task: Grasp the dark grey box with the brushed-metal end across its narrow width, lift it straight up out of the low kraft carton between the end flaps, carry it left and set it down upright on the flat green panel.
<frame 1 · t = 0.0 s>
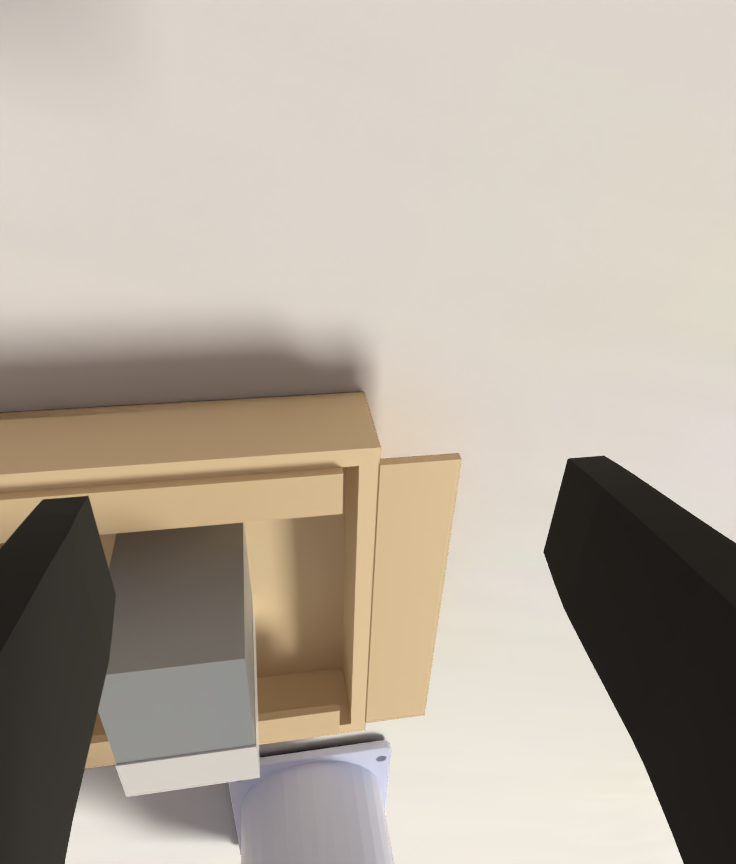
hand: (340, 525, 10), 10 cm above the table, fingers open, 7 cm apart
grey box: (192, 575, 24), resting on carton
carton: (193, 567, 24), on the table
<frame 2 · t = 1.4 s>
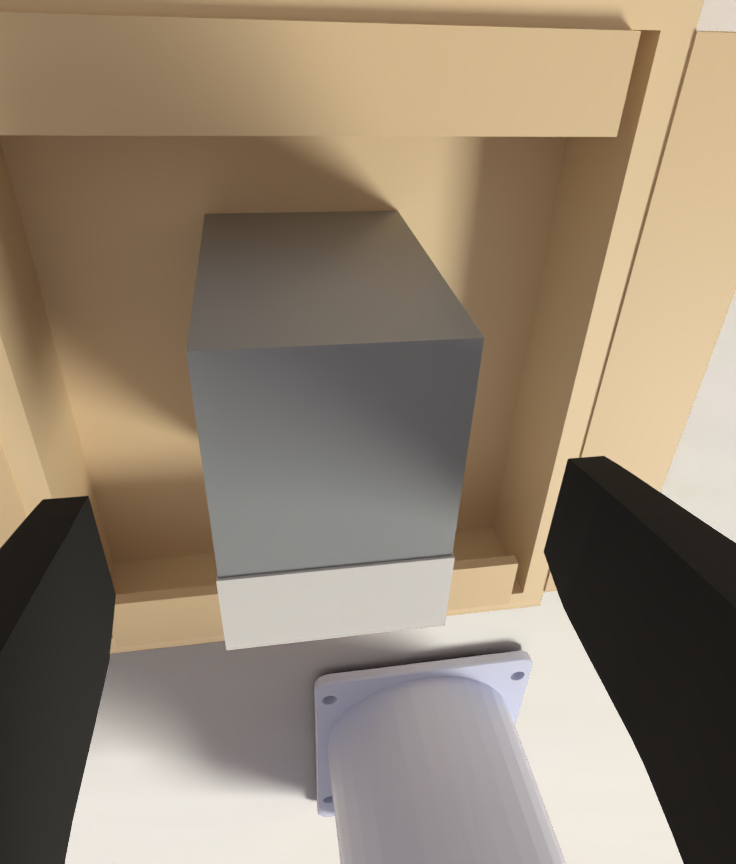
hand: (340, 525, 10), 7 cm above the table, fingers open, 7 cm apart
grey box: (306, 342, 15), resting on carton
carton: (305, 334, 16), on the table
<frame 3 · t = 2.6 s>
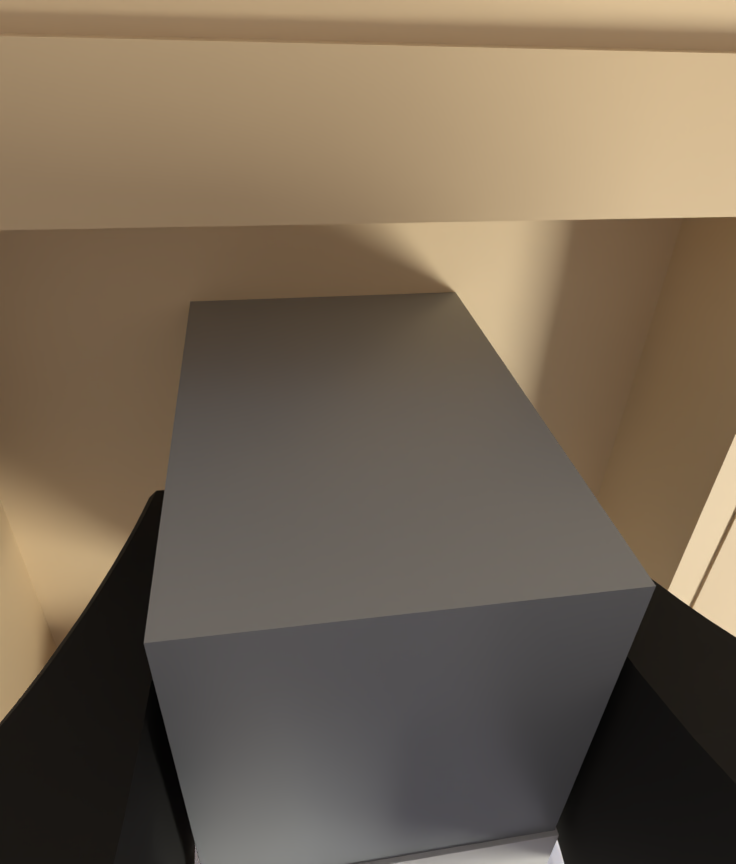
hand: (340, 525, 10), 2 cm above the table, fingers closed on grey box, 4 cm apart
grey box: (327, 456, 12), resting on carton, touching gripper
carton: (325, 442, 12), on the table
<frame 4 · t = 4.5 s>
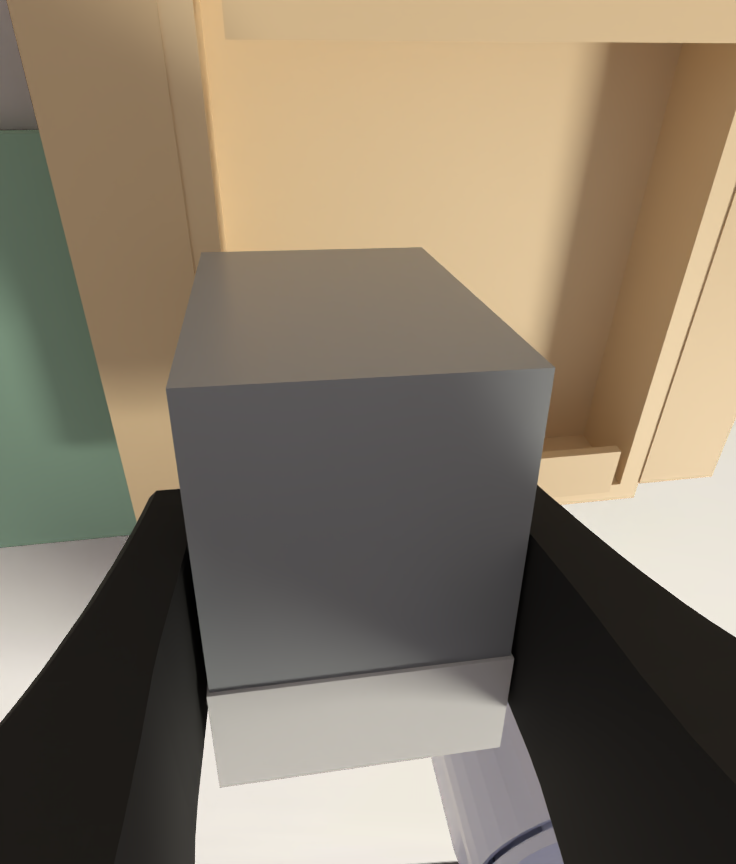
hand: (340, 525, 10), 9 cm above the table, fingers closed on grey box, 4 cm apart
grey box: (318, 399, 13), point 6 cm above the table, tilted 7°, touching gripper
carton: (435, 246, 18), on the table
flat green panel: (33, 369, 18), on the table
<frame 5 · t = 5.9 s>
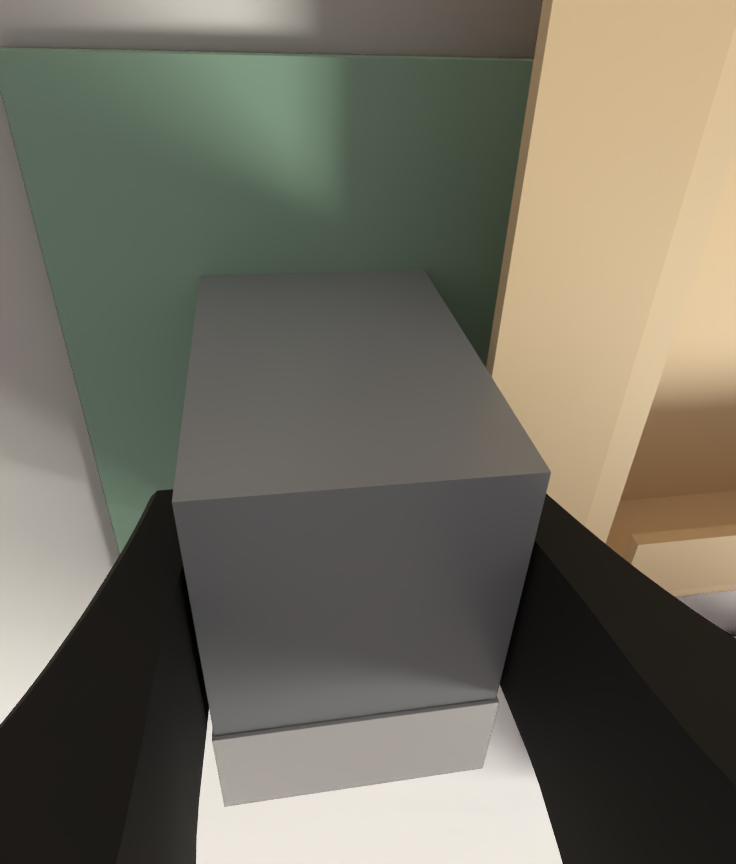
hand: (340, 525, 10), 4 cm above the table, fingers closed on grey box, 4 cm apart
grey box: (316, 413, 13), resting on flat green panel, touching gripper
flat green panel: (316, 388, 13), on the table
when the fingers open (4 cm above the table, at t = 6.4 s): grey box stays where it is, resting on flat green panel.
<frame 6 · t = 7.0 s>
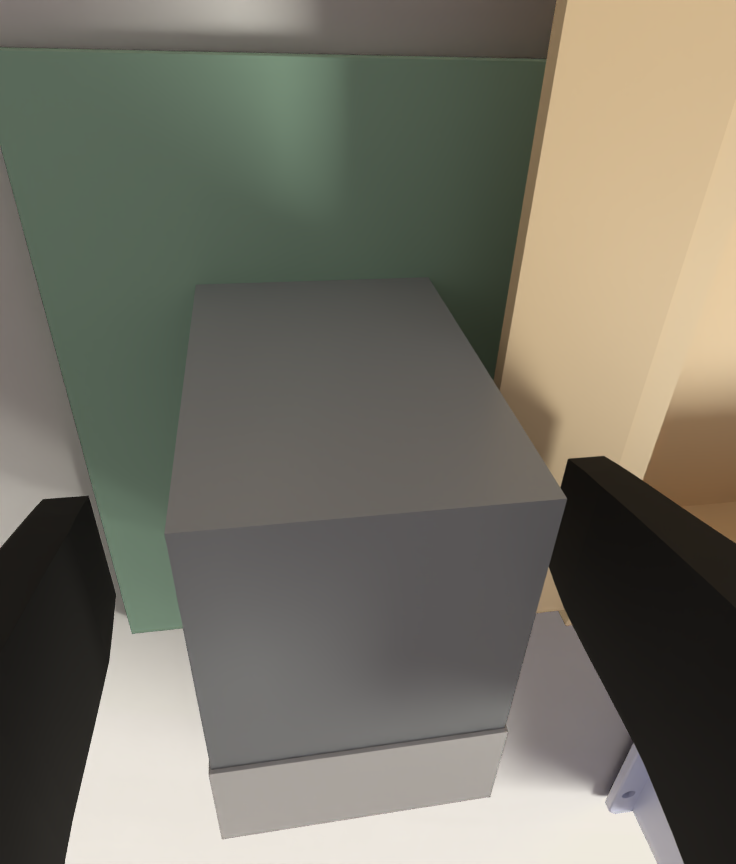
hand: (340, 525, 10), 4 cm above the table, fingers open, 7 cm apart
grey box: (317, 424, 13), resting on flat green panel
flat green panel: (316, 398, 13), on the table
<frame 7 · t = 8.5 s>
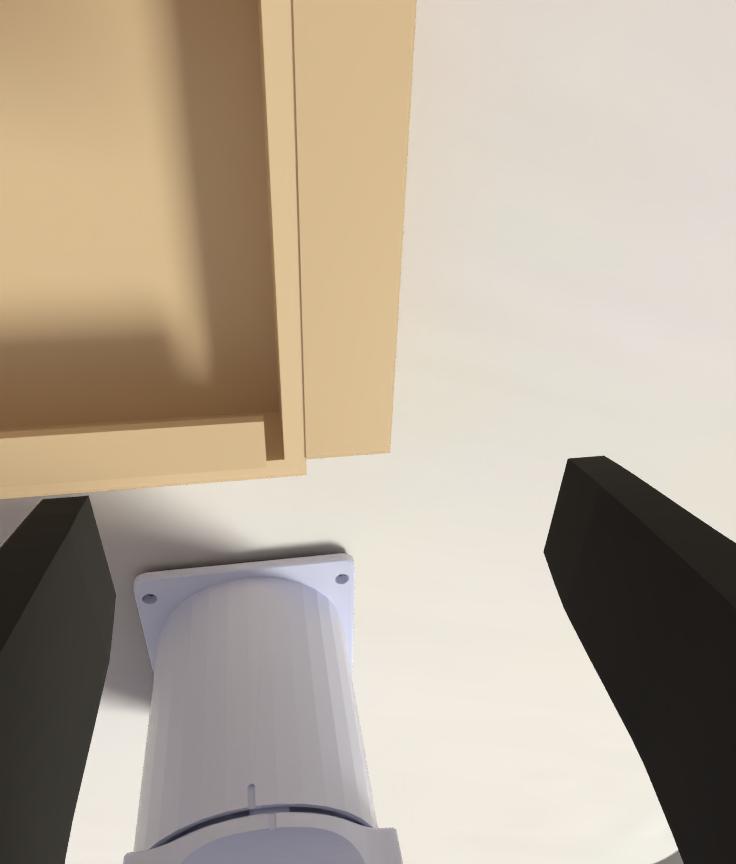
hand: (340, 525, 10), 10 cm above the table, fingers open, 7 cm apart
carton: (44, 194, 16), on the table
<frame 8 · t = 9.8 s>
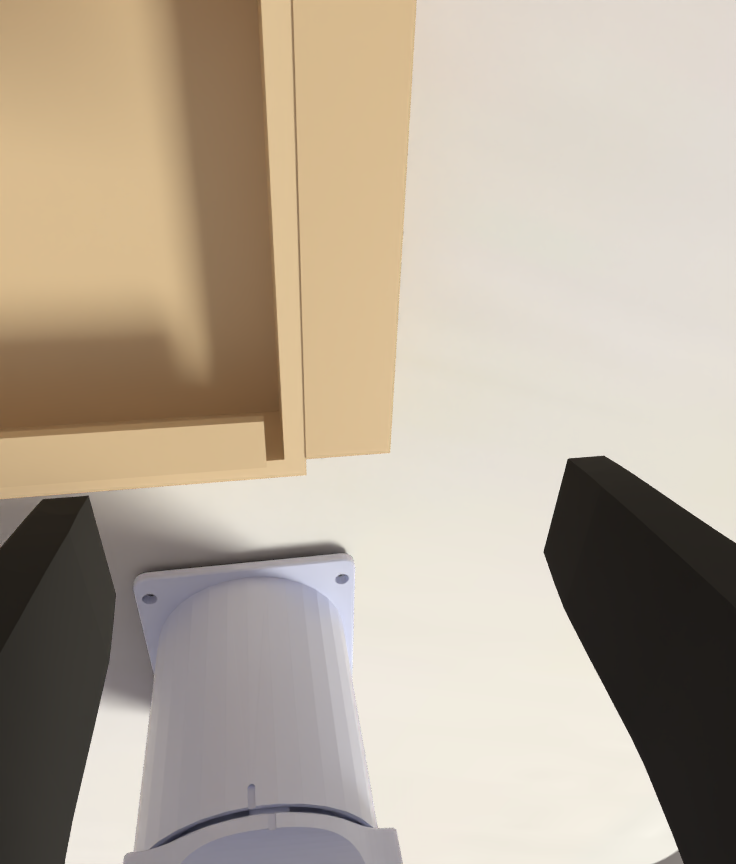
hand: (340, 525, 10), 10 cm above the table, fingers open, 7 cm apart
carton: (44, 194, 16), on the table
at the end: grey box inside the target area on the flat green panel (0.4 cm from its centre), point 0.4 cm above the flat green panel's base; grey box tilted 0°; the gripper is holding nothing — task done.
